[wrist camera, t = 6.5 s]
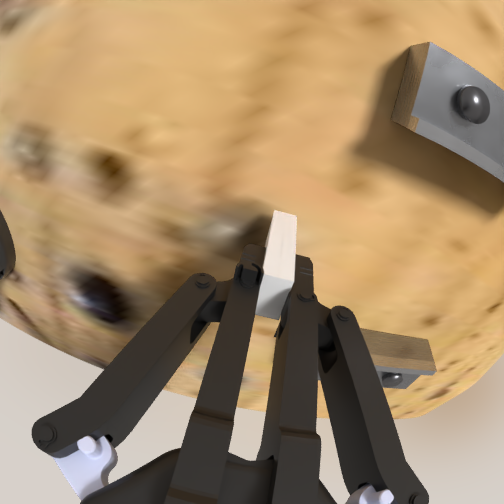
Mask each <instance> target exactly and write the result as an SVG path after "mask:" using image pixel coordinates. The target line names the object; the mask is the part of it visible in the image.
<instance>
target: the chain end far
mask: <svg viewBox="0 0 504 504" xmlns="http://www.w3.org/2000/svg"><path fill="white" fill-rule="evenodd" d="M360 330H361V332H362V335H363V337H364V340H365V342H366V345H367V347H368V350H369V353H370V355H371V358H372V360H373V363H374V366H375V368H376V371H377V374H378V377H379V379H380V382H381V385H382V387H384V388H399V389H406V388H407V387H408V386H409V385H410V384H412V383H413V382H414V381H415V380H416V379H417V378H418V377H419V376H420V375H433V374H434V373H435V372H436V371H437V370H436V366H435V363H434V359H433V356H432V352H431V349H430V346H429V342H428V340H427V339H420V338H414V337H407V336H401V335H395V334H389V333H383V332H378V331H372V330H367V329H361V328H360ZM318 380H320V376H319V372H318Z"/></svg>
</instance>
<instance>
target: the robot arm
mask: <svg viewBox="0 0 504 504" xmlns="http://www.w3.org/2000/svg"><path fill="white" fill-rule="evenodd" d="M296 228H297V216H295V215H291V214H288V213H284V212H280V211H276V210H274V213H273V217H272V221H271V225H270V228H269V232H268V236H267V239H266V243H265V247H262V246H258V245H254V244H251V243H249V244H248V245H247V246H245V247H244V250H243V253H242V256H241V259H240V262H239V263H238V264H237V266H236V269H235V274H234V278H233V279H231V280H229V281H224V282H216V280H215V278H214V277H213V276H211V275H209V274H206V273H197V274H194V275H192V276H191V277H190V278H189V279H188V280H187V281H186V282H185V283H184V284H183V285H182V286H181V287H180V288H179V289H178V290H177V291H176V292H175V293H174V295H173V296H172V297H171V298H170V299H169V300H168V301H167V302H166V303H165V304H164V305H163V306H162V307H161V308H160V309H159V311H158V312H157V313H156V314H155V315H154V316H153V317H152V318H151V319H150V320H149V321H148V322H147V323H146V325H145V326H144V327H143V328H142V329H141V330H140V331H139V332H138V333H137V334H136V335H135V336H134V338H133V339H132V340H131V341H130V342H129V343H128V344H127V345H126V346H125V347H124V349H123V350H122V351H121V352H120V353H119V354H118V355H117V356H116V357H115V358H114V360H113V361H112V362H111V363H110V364H109V365H108V366H107V367H106V369H105V370H104V371H103V372H102V373H101V374H100V375H99V376H98V378H97V379H96V380H95V381H94V382H93V383H92V384H91V385H90V387H89V388H88V389H87V390H86V391H85V392H84V393H83V395H82V396H81V397H80V398H78V399H76V400H74V401H72V402H71V403H69V404H67V405H65V406H63V407H61V408H59V409H57V410H55V411H54V412H52V413H50V414H48V415H46V416H44V417H42V418H40V419H39V420H37V421H36V422H35V423H34V425H33V428H32V438H33V441H34V443H35V444H36V446H37V447H38V448H39V449H41V450H42V451H44V452H45V453H47V454H49V455H50V456H51V457H53V459H54V460H55V462H56V463H57V465H58V467H59V468H60V470H61V471H62V473H63V475H64V476H65V478H66V479H67V481H68V482H69V484H70V485H71V487H72V488H73V489H74V491H75V492H76V494H77V495H78V497H79V498H80V499H81V503H80V504H337V503H336V502H335V500H334V499H333V498H332V496H331V495H330V493H329V492H328V490H327V489H326V488H325V486H324V485H323V484H322V482H321V481H320V479H319V471H320V470H319V469H320V456H321V438H320V436H319V435H318V434H317V433H316V418H317V391H318V372H319V376H320V380H321V384H322V388H323V392H324V396H325V401H326V405H327V409H328V413H329V417H330V422H331V426H332V430H333V435H334V439H335V444H336V448H337V453H338V457H339V462H340V467H341V471H342V475H343V479H344V482H345V485H346V487H347V490H348V492H349V494H350V497H349V498H348V500H347V502H346V504H428V503H429V495H428V493H427V491H426V489H425V488H424V486H423V485H422V483H421V482H420V481H419V479H418V478H417V476H416V475H415V474H414V472H413V470H412V469H411V468H410V466H409V465H408V463H407V462H406V460H405V457H404V453H403V450H402V446H401V443H400V440H399V436H398V433H397V430H396V427H395V424H394V420H393V417H392V414H391V411H390V408H389V405H388V402H387V399H386V396H385V394H384V391H383V388H382V385H381V382H380V379H379V377H378V374H377V371H376V368H375V366H374V363H373V360H372V358H371V355H370V353H369V350H368V347H367V345H366V342H365V340H364V337H363V335H362V332H361V330H360V327H359V325H358V322H357V320H356V317H355V315H354V314H353V312H352V311H351V310H350V309H348V308H346V307H344V306H335V307H333V308H332V309H329V308H327V307H325V306H323V305H322V304H320V303H319V302H318V300H317V296H316V295H315V294H314V285H313V263H312V262H311V260H310V258H308V257H304V256H300V255H296ZM15 261H16V255H15V248H14V244H13V240H12V237H11V234H10V231H9V228H8V225H7V223H6V221H5V219H4V216H3V214H2V212H1V210H0V279H2V278H4V277H5V276H6V275H7V274H8V273H9V272H10V271H11V270H12V269H13V268H14V266H15ZM255 315H259V316H263V317H267V318H272V319H276V320H279V318H280V316H281V320H280V323H279V326H278V328H277V330H276V333H275V335H274V337H276V336H277V337H276V345H275V352H274V360H273V367H272V375H271V382H270V389H269V396H268V403H267V410H266V416H265V423H264V430H263V435H262V442H261V446H260V450H259V452H258V455H257V458H256V461H248V460H245V459H243V458H240V457H238V456H236V455H234V454H231V453H229V452H228V450H229V445H230V441H231V436H232V430H233V425H234V415H235V410H236V406H237V401H238V396H239V391H240V386H241V382H242V377H243V372H244V367H245V362H246V357H247V352H248V347H249V342H250V337H251V332H252V327H253V322H254V317H255ZM211 322H220V324H219V328H218V331H217V334H216V337H215V341H214V344H213V347H212V351H211V354H210V357H209V360H208V364H207V367H206V370H205V374H204V377H203V380H202V384H201V387H200V390H199V394H198V397H197V400H196V404H195V407H194V410H193V412H192V414H191V416H190V420H189V423H188V427H187V429H186V433H185V436H184V440H183V443H182V446H181V448H178V449H174V450H171V451H168V452H166V453H164V454H162V455H161V456H159V457H157V458H156V459H154V460H152V461H151V462H149V463H147V464H146V465H144V466H142V467H140V468H139V469H137V470H135V471H133V472H131V473H130V474H128V475H126V476H124V477H122V478H120V479H119V480H117V481H115V482H113V483H111V484H109V483H108V475H109V473H110V471H111V470H112V469H113V468H114V467H115V466H116V464H117V460H118V456H117V453H116V450H115V449H114V448H115V447H117V446H118V445H119V444H120V443H121V442H122V441H124V440H125V438H126V437H127V436H128V435H129V434H130V432H131V431H132V430H133V429H134V427H135V426H136V425H137V423H138V422H139V420H140V419H141V417H142V416H143V415H144V414H145V412H146V411H147V410H148V408H149V407H150V406H151V404H152V403H153V401H154V400H155V398H156V397H157V396H158V395H159V393H160V392H161V391H162V389H163V388H164V387H165V385H166V384H167V382H168V381H169V380H170V378H171V377H172V376H173V374H174V373H175V371H176V370H177V369H178V367H179V366H180V365H181V363H182V362H183V361H184V359H185V358H186V356H187V355H188V354H189V352H190V351H191V350H192V348H193V347H194V345H195V344H196V343H197V341H198V340H199V339H200V337H201V336H202V334H203V333H204V332H205V330H206V329H207V328H208V326H209V325H210V323H211Z"/></svg>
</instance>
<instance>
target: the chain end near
mask: <svg viewBox="0 0 504 504" xmlns="http://www.w3.org/2000/svg"><path fill="white" fill-rule="evenodd" d="M391 120H392V121H394V122H396V123H398V124H400V125H402V126H404V127H406V128H408V129H409V130H411V131H413V132H415V133H417V134H419V135H422V136H424V137H426V138H428V139H430V140H432V141H434V142H436V143H438V144H440V145H442V146H444V147H446V148H448V149H449V150H451V151H453V152H455V153H457V154H459V155H460V156H462V157H464V158H466V159H467V160H469V161H471V162H473V163H474V164H476V165H478V166H479V167H481V168H483V169H484V170H486V171H487V172H489V173H490V174H492V175H494V176H495V177H497V178H498V179H500V180H501V181H503V182H504V91H503V90H502V89H501V88H500V87H498V86H497V85H496V84H495V83H493V82H492V81H491V80H489V79H488V78H487V77H485V76H484V75H482V74H481V73H480V72H478V71H477V70H475V69H474V68H472V67H471V66H470V65H468V64H467V63H465V62H463V61H462V60H460V59H459V58H457V57H456V56H454V55H452V54H451V53H449V52H447V51H446V50H444V49H442V48H440V47H439V46H437V45H435V44H433V43H431V42H427V43H422V44H417V45H413V46H411V47H410V51H409V55H408V59H407V63H406V67H405V71H404V75H403V79H402V82H401V86H400V90H399V93H398V97H397V100H396V103H395V107H394V110H393V113H392V117H391Z"/></svg>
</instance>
